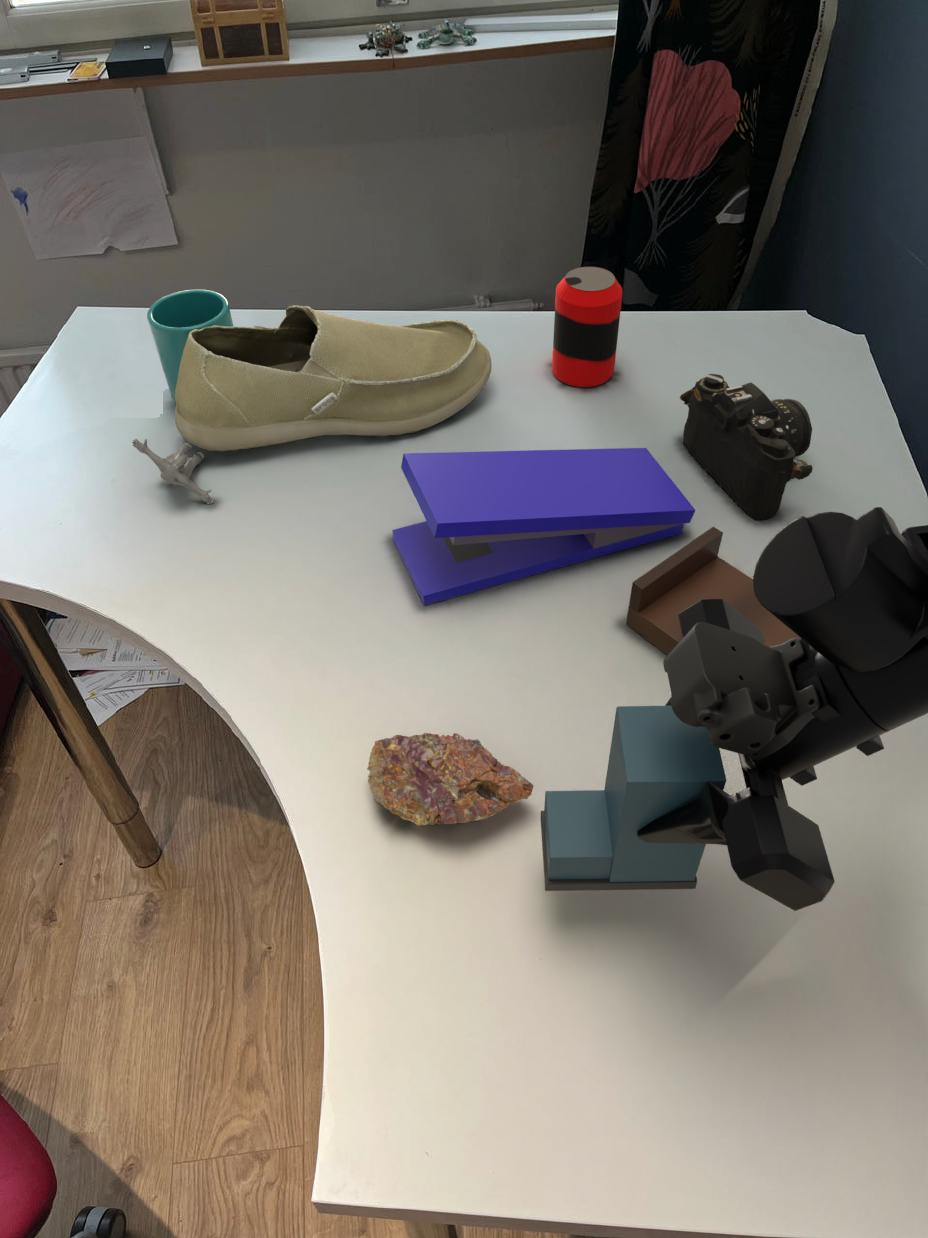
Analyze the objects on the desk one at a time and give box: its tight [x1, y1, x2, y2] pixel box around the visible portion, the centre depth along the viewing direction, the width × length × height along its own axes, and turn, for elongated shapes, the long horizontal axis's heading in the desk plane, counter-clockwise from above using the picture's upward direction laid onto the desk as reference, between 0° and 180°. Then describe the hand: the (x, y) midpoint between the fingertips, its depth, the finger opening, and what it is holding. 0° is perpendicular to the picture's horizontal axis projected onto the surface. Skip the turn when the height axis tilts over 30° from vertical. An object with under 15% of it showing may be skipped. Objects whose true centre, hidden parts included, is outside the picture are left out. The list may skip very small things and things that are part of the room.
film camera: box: [679, 373, 813, 521], centre depth 96 cm, size 18×12×10 cm
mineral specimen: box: [366, 732, 534, 827], centre depth 71 cm, size 12×8×7 cm
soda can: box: [551, 266, 623, 388], centre depth 109 cm, size 8×8×12 cm
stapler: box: [391, 447, 696, 606], centre depth 90 cm, size 12×28×10 cm, turn 110°
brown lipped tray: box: [625, 526, 800, 656], centre depth 81 cm, size 16×11×6 cm
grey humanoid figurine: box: [131, 438, 215, 505], centre depth 98 cm, size 10×6×9 cm
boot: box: [540, 705, 727, 892], centre depth 59 cm, size 10×6×13 cm, turn 90°
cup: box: [146, 289, 235, 405], centre depth 109 cm, size 9×12×11 cm
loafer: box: [174, 305, 493, 452], centre depth 103 cm, size 14×37×13 cm, turn 112°
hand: (635, 796), depth 58 cm, fingers closed on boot, 5 cm apart
